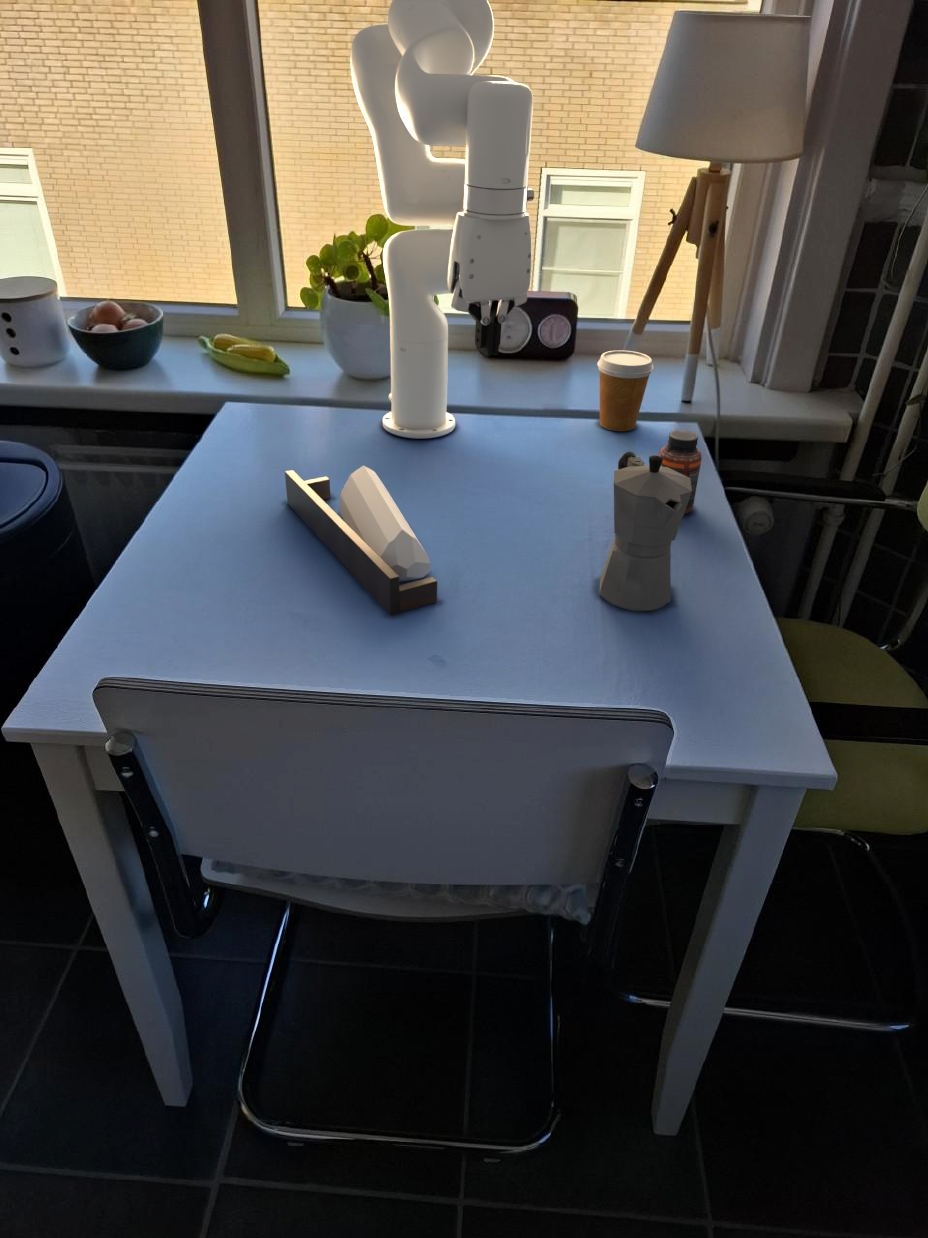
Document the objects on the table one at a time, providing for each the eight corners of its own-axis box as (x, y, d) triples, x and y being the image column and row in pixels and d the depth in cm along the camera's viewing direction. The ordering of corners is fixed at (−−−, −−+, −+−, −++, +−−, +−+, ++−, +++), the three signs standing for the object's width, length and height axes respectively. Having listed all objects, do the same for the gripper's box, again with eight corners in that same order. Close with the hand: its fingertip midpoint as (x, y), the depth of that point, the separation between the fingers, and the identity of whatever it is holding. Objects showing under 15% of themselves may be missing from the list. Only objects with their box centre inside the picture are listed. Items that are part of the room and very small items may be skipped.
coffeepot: (692, 617, 104) (721, 477, 94) (618, 625, 102) (640, 483, 92) (641, 554, 116) (663, 425, 106) (574, 560, 114) (589, 429, 104)
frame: (287, 503, 126) (284, 471, 123) (327, 495, 128) (325, 463, 126) (390, 615, 102) (390, 578, 99) (437, 602, 105) (437, 566, 102)
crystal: (451, 555, 107) (398, 475, 125) (401, 535, 103) (355, 456, 122) (421, 604, 109) (374, 519, 128) (372, 586, 105) (331, 502, 124)
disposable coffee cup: (592, 413, 160) (600, 347, 154) (645, 418, 159) (655, 352, 152) (588, 431, 153) (596, 363, 146) (643, 437, 151) (653, 368, 145)
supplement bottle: (694, 503, 130) (708, 430, 124) (689, 520, 125) (703, 445, 119) (654, 496, 131) (666, 424, 125) (648, 512, 127) (659, 438, 121)
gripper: (530, 193, 112) (519, 337, 122) (425, 198, 105) (424, 350, 116) (563, 203, 106) (549, 353, 117) (455, 210, 100) (450, 368, 110)
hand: (487, 351), depth 116 cm, fingers closed
